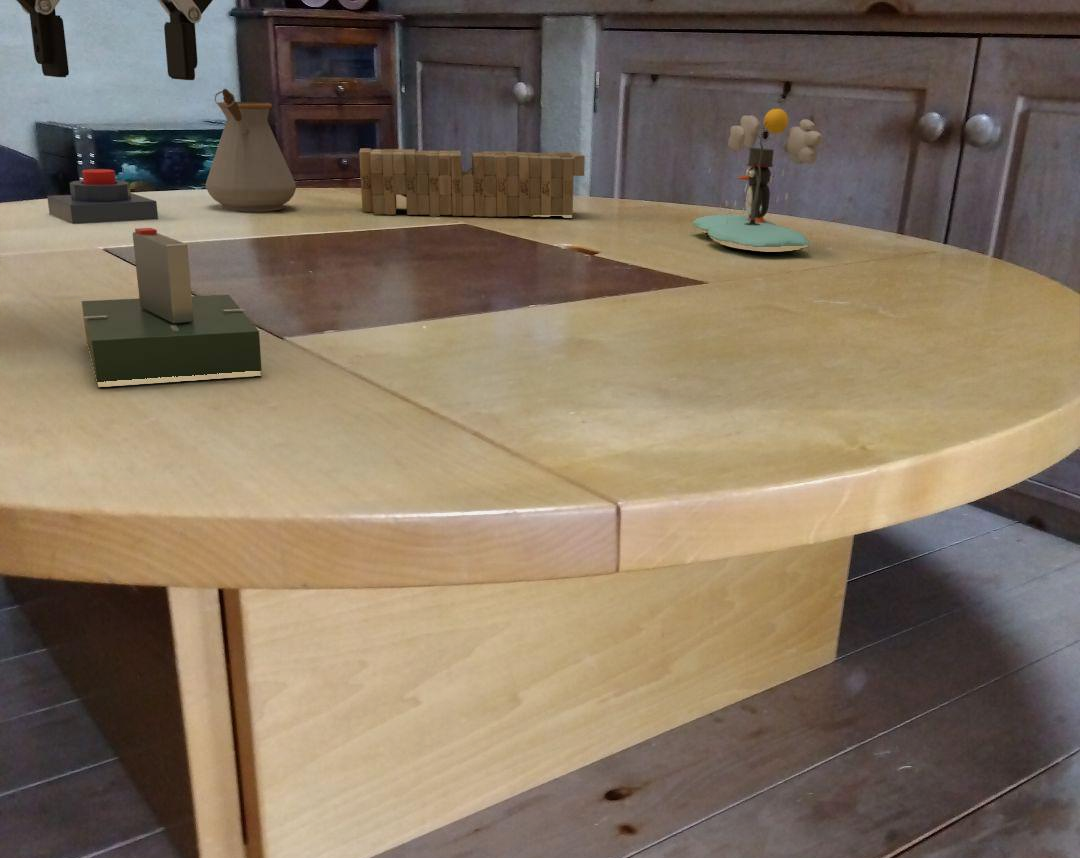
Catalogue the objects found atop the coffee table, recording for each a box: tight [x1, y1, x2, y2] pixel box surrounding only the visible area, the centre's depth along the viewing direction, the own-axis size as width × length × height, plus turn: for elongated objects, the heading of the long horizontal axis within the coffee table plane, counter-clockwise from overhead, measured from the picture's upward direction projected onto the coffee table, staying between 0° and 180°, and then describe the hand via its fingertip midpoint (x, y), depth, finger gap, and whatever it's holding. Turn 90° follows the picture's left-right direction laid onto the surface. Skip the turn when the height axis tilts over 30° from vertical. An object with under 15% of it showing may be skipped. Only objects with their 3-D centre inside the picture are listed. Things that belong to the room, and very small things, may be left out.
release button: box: [81, 168, 117, 185], centre depth 133 cm, size 4×4×2 cm
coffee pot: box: [205, 88, 297, 213], centre depth 140 cm, size 21×12×15 cm, turn 5°
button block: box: [46, 179, 159, 225], centre depth 134 cm, size 10×9×4 cm
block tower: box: [358, 147, 586, 217], centre depth 149 cm, size 8×8×29 cm
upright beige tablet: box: [132, 227, 194, 324], centre depth 74 cm, size 6×1×5 cm, turn 38°
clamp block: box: [81, 294, 263, 383], centre depth 75 cm, size 10×12×3 cm
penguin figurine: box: [691, 108, 823, 247], centre depth 130 cm, size 20×11×15 cm, turn 6°
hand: (121, 77), depth 84 cm, fingers open, 9 cm apart
